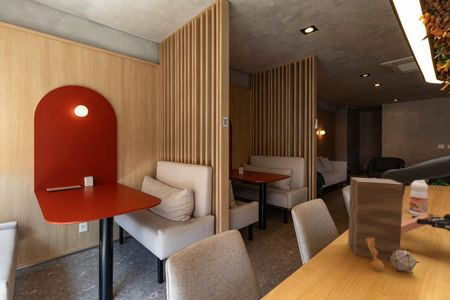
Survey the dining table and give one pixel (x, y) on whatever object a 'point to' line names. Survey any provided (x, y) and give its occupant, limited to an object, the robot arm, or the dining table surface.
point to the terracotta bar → (413, 223)
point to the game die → (403, 260)
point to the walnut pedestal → (375, 216)
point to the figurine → (375, 263)
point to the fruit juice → (418, 198)
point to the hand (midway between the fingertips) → (415, 219)
